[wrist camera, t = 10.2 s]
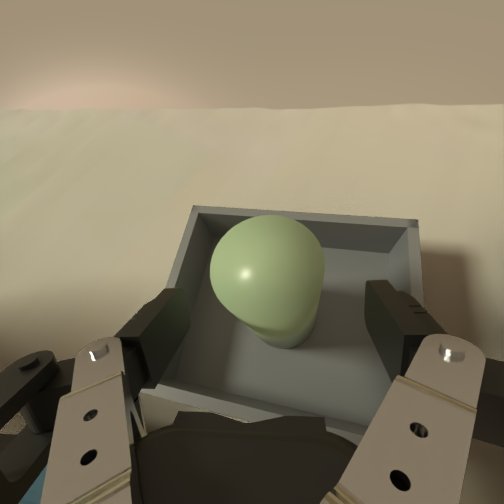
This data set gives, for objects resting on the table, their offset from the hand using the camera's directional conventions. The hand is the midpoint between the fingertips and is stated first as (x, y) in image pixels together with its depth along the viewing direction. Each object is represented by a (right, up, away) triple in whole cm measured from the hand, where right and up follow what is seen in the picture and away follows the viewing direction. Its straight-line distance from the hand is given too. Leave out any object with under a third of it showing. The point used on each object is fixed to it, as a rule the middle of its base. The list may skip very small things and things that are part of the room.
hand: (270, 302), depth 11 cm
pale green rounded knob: (+2, -3, +10) cm, 11 cm away
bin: (+2, -3, +11) cm, 11 cm away
